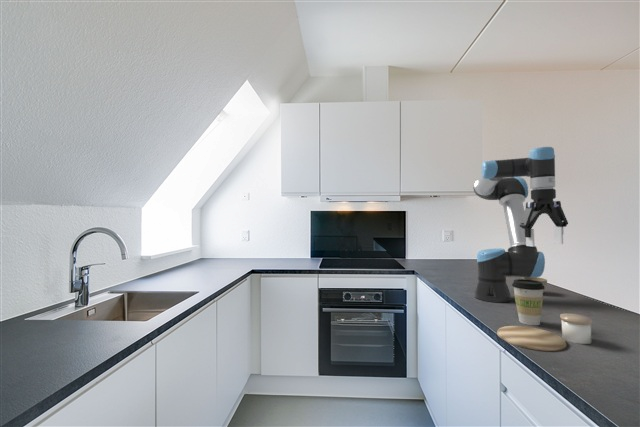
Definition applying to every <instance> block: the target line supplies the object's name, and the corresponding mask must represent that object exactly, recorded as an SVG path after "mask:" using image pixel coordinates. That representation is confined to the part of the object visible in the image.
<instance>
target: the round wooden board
mask: <svg viewBox="0 0 640 427" xmlns="http://www.w3.org/2000/svg"><path fill="white" fill-rule="evenodd" d="M496 333H497V336H498V338H499V339H501V340H503V341H504V342H506V343H507V344H510V345H513V346H516V347H520V348H522V349H527V350H532V351H533V350H534V351H540V352H558V351H562V350H564V349H567V340H565V339H563V338H562V336H560V335H558V334H556V333H554V332H552V331H548V330H545V329H541V328H537V327H536V328H535V327H532V326H523V325H507V326H501V327H500V328H498V329H497V331H496Z"/></svg>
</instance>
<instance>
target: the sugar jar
mask: <svg viewBox="0 0 640 427" xmlns="http://www.w3.org/2000/svg"><path fill="white" fill-rule="evenodd" d="M559 319H560V320H561V337H562V338H563V339H564V340H565V341H566V342H570V343H573V344H580V345H590V344H592V324H593V319H592V318H591V317H589V316H585V315H583V314H577V313H560V315H559Z"/></svg>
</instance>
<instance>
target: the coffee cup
mask: <svg viewBox="0 0 640 427" xmlns="http://www.w3.org/2000/svg"><path fill="white" fill-rule="evenodd" d="M511 286H512V287H513V291H514V292H513V295H514V301H515V305H516V312H517V314H518V320H519V323H522V324H524V325H528V326H539V325H541V315H542V310H543V301H544V299H543V298H544V295H543V294H544V291H543V289H544V290H545V289H546V287H545V288H544V286H543V284H542V282H540V281H536V280H529V279H523V278H521V279H520V278H519V279H518V278H517V279H516V278H515V279H514V280H513V283H512V284H511Z"/></svg>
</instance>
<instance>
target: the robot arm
mask: <svg viewBox="0 0 640 427" xmlns="http://www.w3.org/2000/svg"><path fill="white" fill-rule="evenodd" d="M555 163H556V155H555V149H554V147H552V146H541V147H535V148H532V149H530V150H529V155H528V157H522V158H521V157H520V158H510V159H509V158H508V159H496V160H495V159H494V160H493V159H492V160H487V161H483V162H482V163H481V177H480V178H478V179H477V180H476V181H475V183H474V185H473V188H472V189H473V192H474V193H475V195H476V196H477V197H479V198H480V199H483V200H487V201H498V203H499V204H500V205H501V206H502V207H503V213H504V216H505V217H504V218H505V224H506V229H507V234H508V238H509V239H508V240H509V247H508V248H507V251H506V250H505V248H500V247H498V248H487V249H482V250H479V251H478V252H477V254H476V255H477V256H476V258H477V259H476V262H477V283H476V287H475V291H474V298H475V299H478V300H481V301H484V302H491V303H507V302H511V301H512V294H511V292H510V289H509V287H508V285H507V277H508V278H510V277H511V278H523V277H529V278H531V277H538V278H541V276H543V273H544V271H545V267H546V266H545V264H546V259H545V255H544V253H543V252H542V251H538V248H537V246H536V245H535V230H534V229H535V228H533V227H534V225H535V224H536V222H537V220H538V219H539V217H540V216H541V215H542V214H545V215H547V216H549V218H550V219H551V221H552V222H553V224H554V225H555V226H554V227H553V234H554V235H553V237H554V238H553V239H554V245H555V244H557V245H564V228H565V227H567V225H568V224H569V221H568V220H567V217H566V214H565V212H564V210H563V207H562V202H561V200H554V199H556V198H557V194H556V193H557V190H556V189H555V187H556V164H555ZM524 177H528V178H529V177H530V178H529V181H530V183H529V184H530V185H529V186H530V189H531V191H530V199H531V200H533V201H527V202H526V203H525V207H524V202H525V201H526V199H527V198H528V196H529V186H528V183H527V180H525V178H524Z"/></svg>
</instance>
